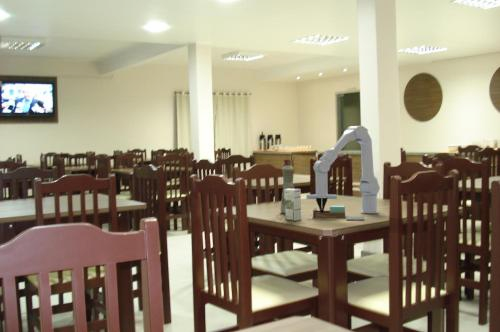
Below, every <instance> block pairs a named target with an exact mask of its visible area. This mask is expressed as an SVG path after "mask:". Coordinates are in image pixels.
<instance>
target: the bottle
mask: <svg viewBox="0 0 500 332" xmlns="http://www.w3.org/2000/svg"><path fill="white" fill-rule="evenodd" d="M283 162H284V165H283V167H282V168H281V172H282V178H283V185H282V186H283V187H282V193H281V199H280V201H281V202H280V213H282V214H284V215H285V202H284V189H288V188H293V189H295V185H294V175H295V174H294V172H295V171H294V170H295V169H294V167H293V166H292V164H291V163H292V159H291V158H289V157H286V158H284V159H283Z"/></svg>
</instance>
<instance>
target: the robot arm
mask: <svg viewBox="0 0 500 332" xmlns="http://www.w3.org/2000/svg"><path fill="white" fill-rule="evenodd" d="M353 141H355V142H357V143H358V144H359V145H360V156H361V157H360V159H361V171H362V173H361V174H362V175H361V177H360V181H359V185H358V187H359V189H358V190H359V191H360V192H361V210H360V212H361V214H379V211H378V193H379V191H380V189H381V188H380V185H379V183H378V178H377V177H376V176H375V175H374V174H375V173H374V172H375V171H374V157H373V156H374V155H373V144H372V143H373V140H372V138H371V136H370V134H369V130H368V128H366V127H365V126H364V125H354V126H353V125H349V126H348V127H347V128H346V129H345V130H344V131H343V134H342V135H341V136H340V138H339V139H338V140H337V142H336V143H335V144H334V146H333V147H332V148H328V149H326V150H325V153H323V155H322V156H321V157H320V158H319V160H316V162H315V163H314V164H313V167H312V169H313V171H314V172H315V193H314V194H306V200H309V199H310V200H311V199H312V200H315V201H316V204H317V206H318V208H319V210H320V213H324V210H325V207H326V204H327V202H328V200H332V199H333V200H337V199H338V194H333V193H332V194H330V193H329V194H328V192H329V189H328V184H329V183H328V172H329V171H330V169H331V166H332V165H333V163H334V162H335V160H337V158H338V157H339V153H340V151H341V150H342V149H343V148H344V147H345V146H346V145H347V144H348V143H349V142H353Z"/></svg>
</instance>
